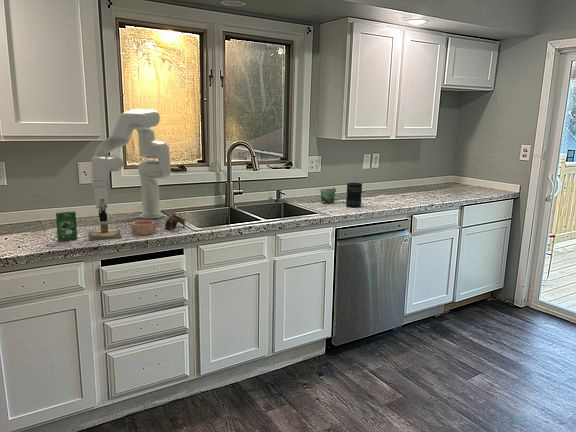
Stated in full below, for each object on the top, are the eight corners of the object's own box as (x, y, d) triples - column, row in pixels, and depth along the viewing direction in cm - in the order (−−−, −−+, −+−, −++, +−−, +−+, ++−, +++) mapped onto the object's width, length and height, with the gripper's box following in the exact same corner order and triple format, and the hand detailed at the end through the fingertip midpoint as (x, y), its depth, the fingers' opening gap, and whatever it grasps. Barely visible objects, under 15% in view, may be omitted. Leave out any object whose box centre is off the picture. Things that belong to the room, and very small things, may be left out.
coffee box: (75, 237, 215) (73, 210, 212) (78, 238, 213) (75, 211, 210) (57, 240, 209) (54, 212, 206) (59, 242, 207) (57, 213, 204)
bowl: (131, 230, 229) (130, 220, 228) (154, 228, 233) (153, 219, 232) (133, 236, 219) (133, 226, 218) (157, 234, 223) (156, 224, 222)
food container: (325, 205, 301) (326, 190, 299) (319, 203, 306) (320, 188, 304) (339, 203, 308) (340, 188, 306) (333, 201, 313) (334, 187, 311)
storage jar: (343, 205, 301) (344, 183, 298) (355, 204, 305) (357, 182, 302) (350, 208, 292) (352, 185, 289) (364, 207, 296) (365, 184, 293)
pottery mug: (163, 227, 238) (170, 213, 239) (180, 235, 240) (187, 221, 241) (162, 227, 226) (169, 212, 227) (179, 235, 228) (187, 220, 229)
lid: (91, 232, 222) (90, 222, 220) (117, 230, 226) (116, 220, 225) (91, 238, 211) (90, 227, 210) (119, 236, 216) (118, 225, 215)
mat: (88, 233, 222) (88, 232, 222) (119, 230, 228) (119, 229, 228) (89, 240, 210) (89, 239, 210) (121, 238, 215) (121, 236, 215)
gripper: (91, 181, 219) (94, 216, 223) (92, 186, 204) (95, 223, 207) (108, 180, 222) (110, 215, 226) (110, 185, 207) (112, 222, 210)
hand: (103, 219), depth 216 cm, fingers open, 9 cm apart
